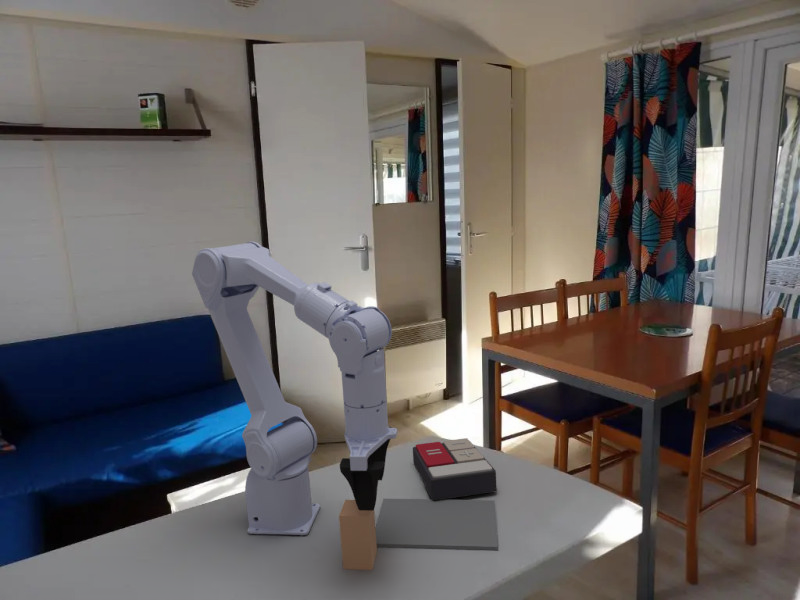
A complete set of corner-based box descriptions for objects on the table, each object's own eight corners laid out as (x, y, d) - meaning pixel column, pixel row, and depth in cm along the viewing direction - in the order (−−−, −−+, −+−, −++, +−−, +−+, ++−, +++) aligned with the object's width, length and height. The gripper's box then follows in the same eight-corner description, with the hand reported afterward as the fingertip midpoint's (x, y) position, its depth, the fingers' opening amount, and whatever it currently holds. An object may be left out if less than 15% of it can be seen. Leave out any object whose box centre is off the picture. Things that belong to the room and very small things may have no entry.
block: (343, 569, 79) (338, 515, 77) (349, 550, 82) (345, 499, 81) (372, 570, 78) (368, 516, 76) (377, 551, 82) (373, 500, 80)
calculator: (468, 435, 109) (496, 466, 94) (469, 457, 109) (497, 491, 95) (411, 442, 107) (431, 475, 92) (413, 465, 107) (432, 501, 93)
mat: (371, 546, 83) (371, 543, 83) (383, 501, 95) (383, 498, 95) (498, 550, 81) (497, 546, 81) (494, 503, 92) (494, 500, 92)
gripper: (388, 422, 69) (393, 524, 72) (400, 381, 83) (405, 467, 86) (330, 422, 70) (338, 523, 73) (352, 381, 84) (358, 467, 87)
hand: (371, 493), depth 79 cm, fingers open, 7 cm apart
